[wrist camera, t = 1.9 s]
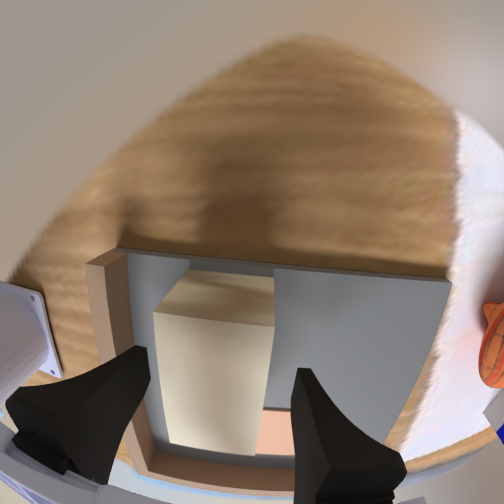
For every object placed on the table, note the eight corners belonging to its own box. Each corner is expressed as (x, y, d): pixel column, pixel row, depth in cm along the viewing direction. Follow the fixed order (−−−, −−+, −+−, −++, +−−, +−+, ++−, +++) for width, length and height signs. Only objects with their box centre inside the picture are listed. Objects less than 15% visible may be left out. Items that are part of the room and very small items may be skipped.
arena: (148, 448, 21) (137, 473, 17) (115, 247, 16) (84, 263, 12) (363, 464, 20) (369, 490, 17) (445, 278, 15) (474, 299, 12)
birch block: (190, 385, 17) (169, 442, 12) (188, 268, 15) (152, 311, 10) (259, 394, 17) (254, 455, 12) (274, 277, 15) (274, 327, 10)
